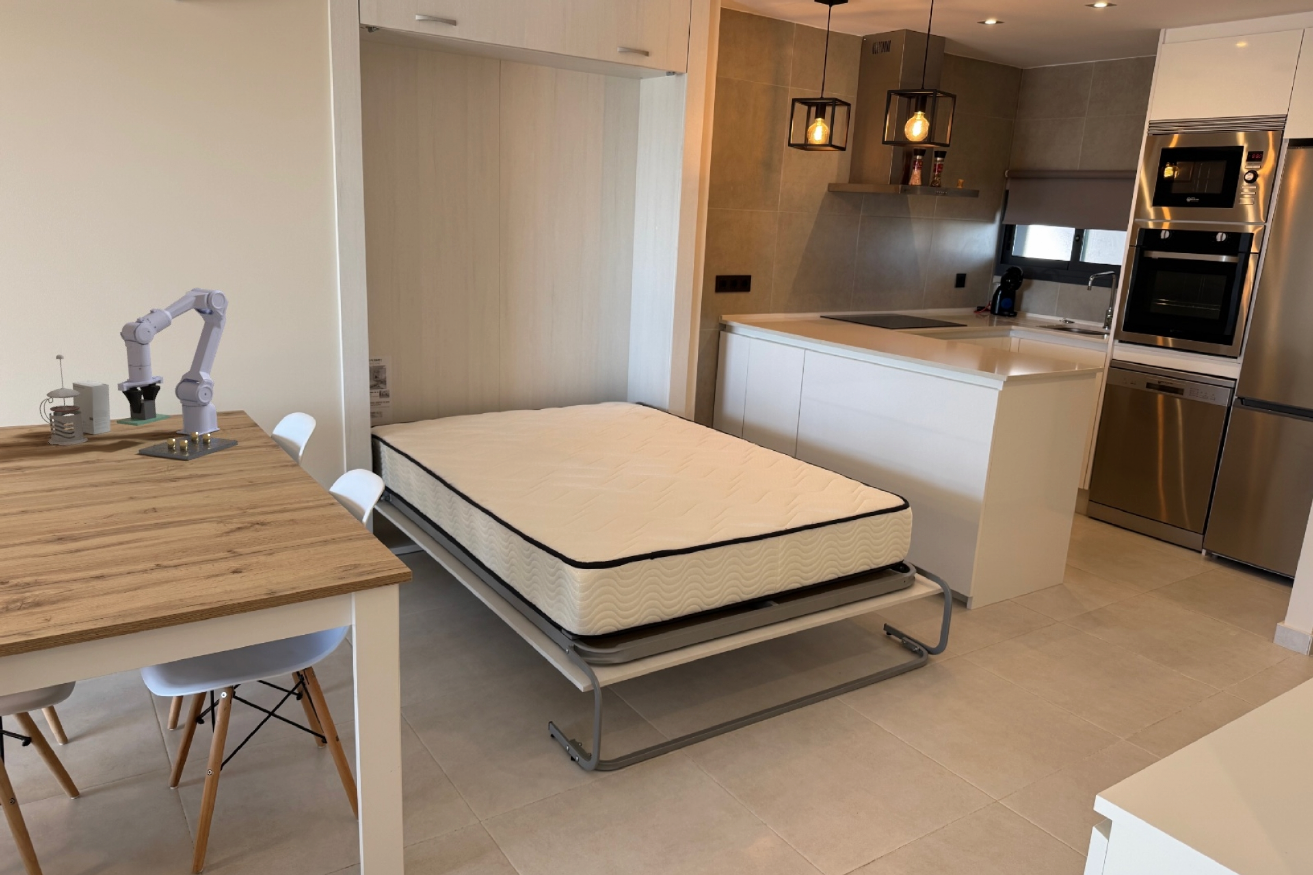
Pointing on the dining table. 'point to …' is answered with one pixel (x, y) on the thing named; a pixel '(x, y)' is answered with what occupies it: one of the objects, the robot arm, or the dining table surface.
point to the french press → (64, 417)
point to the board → (141, 422)
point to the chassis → (188, 446)
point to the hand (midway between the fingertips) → (143, 411)
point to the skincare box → (93, 406)
